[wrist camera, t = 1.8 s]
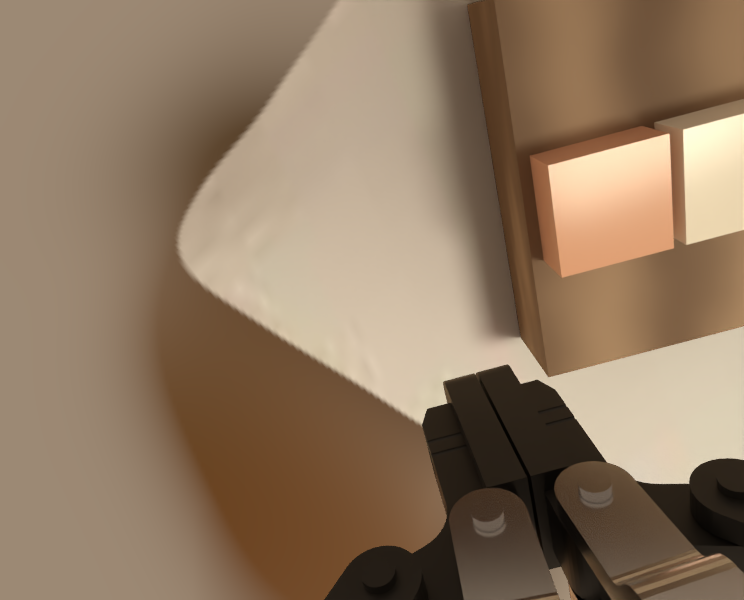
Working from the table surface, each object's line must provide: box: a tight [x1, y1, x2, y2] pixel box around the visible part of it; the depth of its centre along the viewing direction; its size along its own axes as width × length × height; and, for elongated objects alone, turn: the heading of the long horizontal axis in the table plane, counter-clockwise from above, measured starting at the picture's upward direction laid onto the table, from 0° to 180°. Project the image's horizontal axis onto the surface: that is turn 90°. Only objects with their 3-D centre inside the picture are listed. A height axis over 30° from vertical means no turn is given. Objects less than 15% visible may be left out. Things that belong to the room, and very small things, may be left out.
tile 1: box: [654, 99, 744, 245], centre depth 24 cm, size 4×4×2 cm
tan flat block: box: [467, 0, 744, 377], centre depth 26 cm, size 12×16×4 cm
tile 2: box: [530, 126, 674, 278], centre depth 24 cm, size 4×4×2 cm
